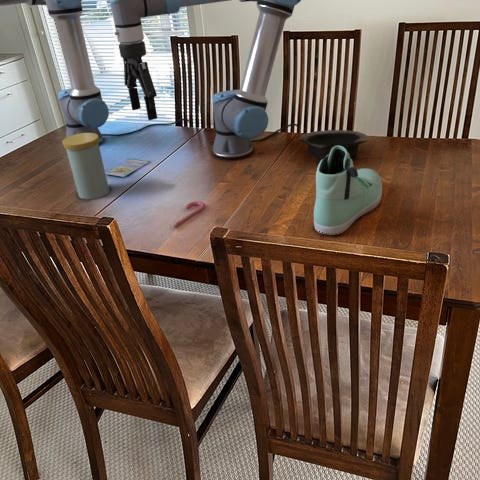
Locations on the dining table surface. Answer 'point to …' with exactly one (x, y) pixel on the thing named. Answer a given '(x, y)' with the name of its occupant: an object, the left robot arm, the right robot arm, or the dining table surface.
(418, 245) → the dining table surface
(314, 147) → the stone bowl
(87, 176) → the jar
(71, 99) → the left robot arm
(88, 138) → the lid
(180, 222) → the candy cane
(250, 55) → the right robot arm
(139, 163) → the baking ingredient package
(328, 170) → the sneaker
